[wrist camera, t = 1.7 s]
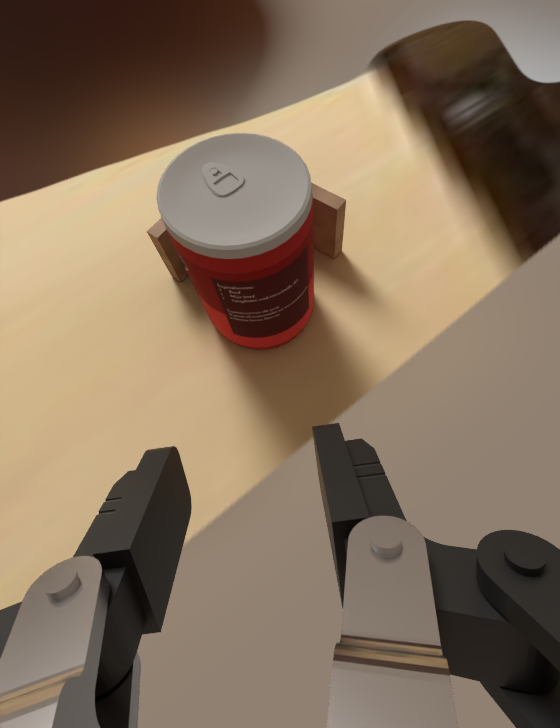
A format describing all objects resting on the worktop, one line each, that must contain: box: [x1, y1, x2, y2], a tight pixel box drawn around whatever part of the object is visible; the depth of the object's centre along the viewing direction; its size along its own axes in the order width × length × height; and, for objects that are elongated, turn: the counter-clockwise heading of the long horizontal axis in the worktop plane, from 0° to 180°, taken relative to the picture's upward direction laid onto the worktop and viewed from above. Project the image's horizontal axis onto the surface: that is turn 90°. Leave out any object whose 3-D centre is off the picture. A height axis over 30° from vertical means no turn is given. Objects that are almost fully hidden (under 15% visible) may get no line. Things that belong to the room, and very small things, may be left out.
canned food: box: [157, 133, 314, 349], centre depth 24 cm, size 8×8×11 cm
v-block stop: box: [147, 183, 346, 282], centre depth 30 cm, size 13×7×5 cm, turn 97°
